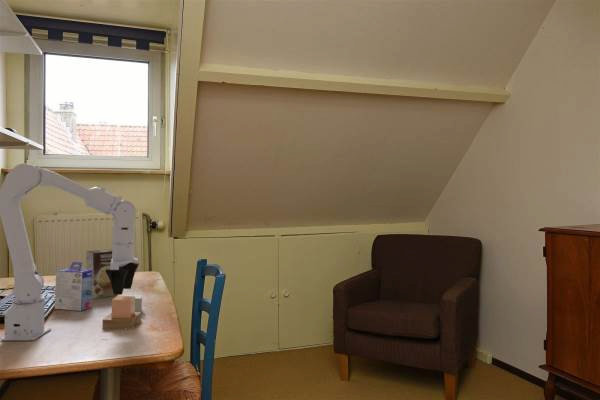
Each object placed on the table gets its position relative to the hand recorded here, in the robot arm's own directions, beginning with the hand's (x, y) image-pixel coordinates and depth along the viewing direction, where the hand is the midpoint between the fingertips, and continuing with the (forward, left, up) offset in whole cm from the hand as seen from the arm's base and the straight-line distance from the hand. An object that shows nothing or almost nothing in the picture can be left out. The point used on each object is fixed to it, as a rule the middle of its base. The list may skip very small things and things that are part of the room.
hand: (122, 291), depth 130 cm
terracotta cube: (0, 0, -7) cm, 7 cm away
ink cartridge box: (+18, +21, -10) cm, 29 cm away
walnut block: (0, 0, -10) cm, 10 cm away
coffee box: (+36, +19, -10) cm, 42 cm away
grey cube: (+13, +1, -10) cm, 16 cm away
